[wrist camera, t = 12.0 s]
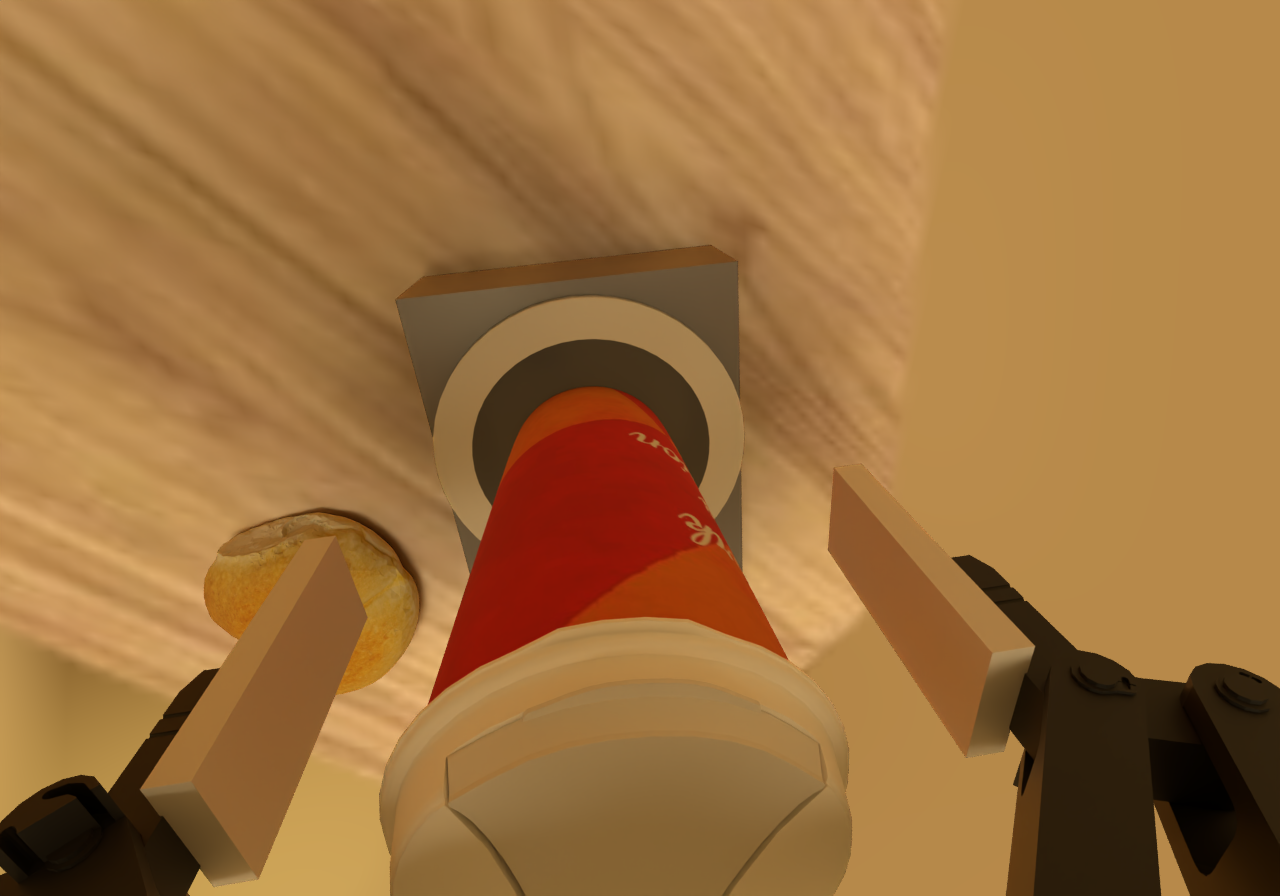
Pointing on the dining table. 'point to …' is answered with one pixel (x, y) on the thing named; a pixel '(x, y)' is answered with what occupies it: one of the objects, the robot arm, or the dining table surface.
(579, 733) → the paper cup
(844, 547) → the robot arm
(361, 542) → the bread roll
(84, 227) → the dining table surface
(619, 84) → the dining table surface
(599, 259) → the block
